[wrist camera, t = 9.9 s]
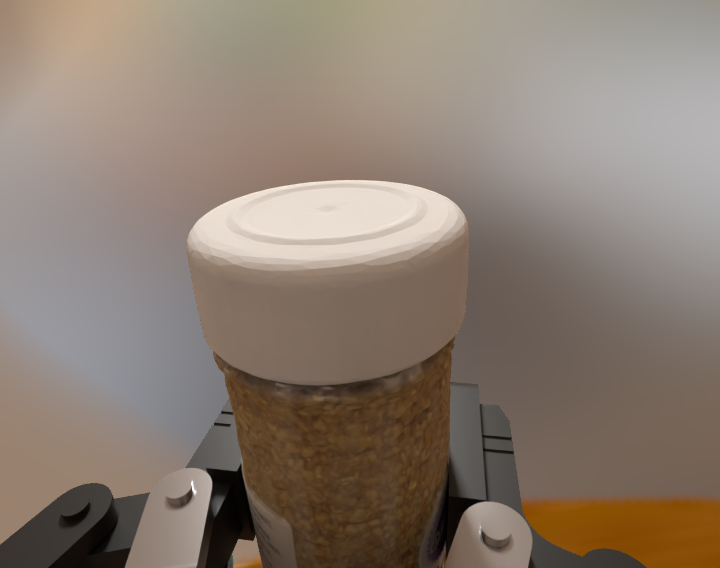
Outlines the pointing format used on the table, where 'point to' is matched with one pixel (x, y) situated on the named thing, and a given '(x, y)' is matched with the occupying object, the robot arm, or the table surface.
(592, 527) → the table surface
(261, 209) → the sprinkles bottle
